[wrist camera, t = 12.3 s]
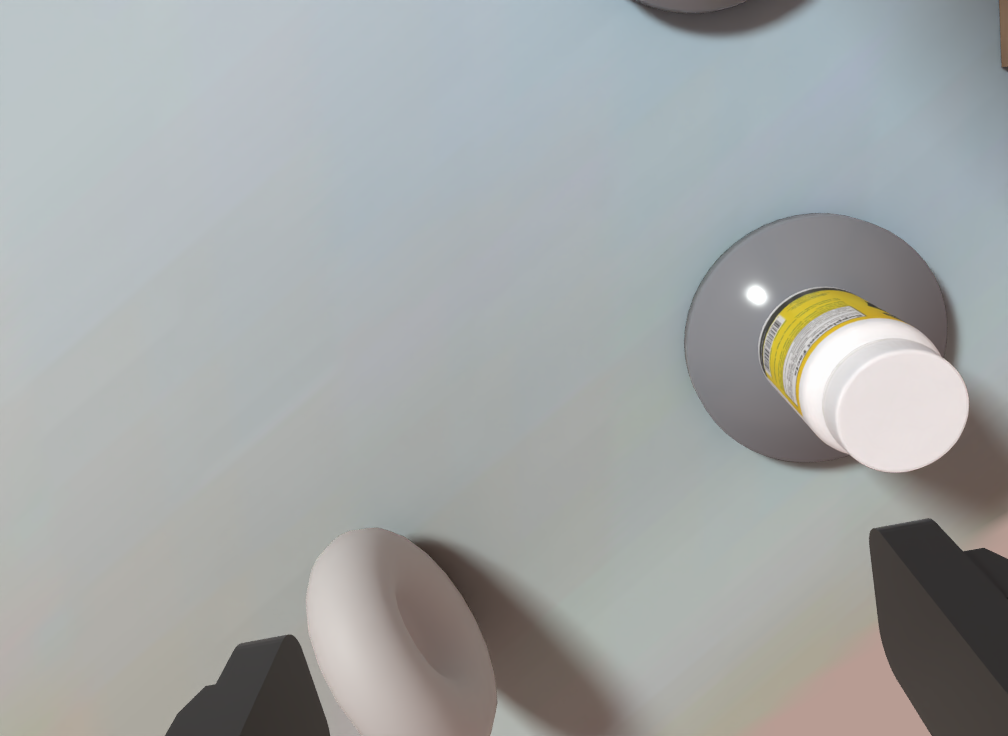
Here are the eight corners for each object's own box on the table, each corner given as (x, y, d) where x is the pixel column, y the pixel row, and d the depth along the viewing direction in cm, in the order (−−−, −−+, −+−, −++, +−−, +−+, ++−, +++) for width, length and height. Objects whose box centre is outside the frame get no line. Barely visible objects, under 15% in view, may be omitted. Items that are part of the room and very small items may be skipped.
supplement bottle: (898, 360, 34) (1010, 437, 26) (792, 422, 35) (869, 514, 27) (841, 259, 33) (940, 307, 25) (733, 325, 34) (795, 391, 26)
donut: (517, 638, 40) (511, 805, 30) (457, 675, 41) (433, 849, 31) (382, 473, 38) (331, 596, 28) (321, 514, 39) (251, 649, 29)
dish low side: (667, 239, 35) (672, 244, 33) (925, 190, 34) (939, 193, 33) (701, 469, 37) (706, 480, 36) (940, 429, 36) (954, 439, 35)
